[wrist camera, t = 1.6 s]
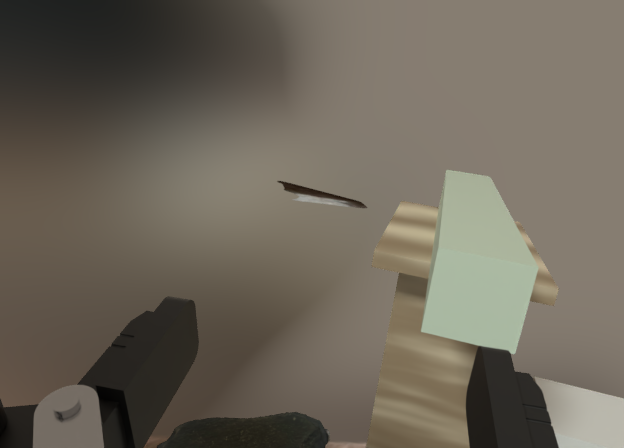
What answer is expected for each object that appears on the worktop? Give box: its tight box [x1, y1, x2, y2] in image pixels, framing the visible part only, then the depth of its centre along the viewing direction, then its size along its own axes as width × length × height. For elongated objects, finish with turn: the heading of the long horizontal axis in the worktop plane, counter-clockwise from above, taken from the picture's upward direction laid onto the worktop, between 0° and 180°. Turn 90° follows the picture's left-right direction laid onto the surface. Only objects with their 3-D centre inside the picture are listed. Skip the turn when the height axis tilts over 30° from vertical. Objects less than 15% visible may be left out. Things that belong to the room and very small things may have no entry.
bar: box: [421, 170, 539, 354], centre depth 29 cm, size 24×4×4 cm, turn 164°
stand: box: [366, 201, 559, 448], centre depth 39 cm, size 17×12×32 cm
